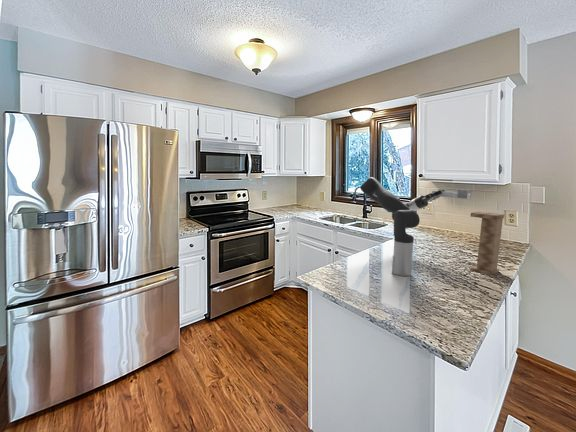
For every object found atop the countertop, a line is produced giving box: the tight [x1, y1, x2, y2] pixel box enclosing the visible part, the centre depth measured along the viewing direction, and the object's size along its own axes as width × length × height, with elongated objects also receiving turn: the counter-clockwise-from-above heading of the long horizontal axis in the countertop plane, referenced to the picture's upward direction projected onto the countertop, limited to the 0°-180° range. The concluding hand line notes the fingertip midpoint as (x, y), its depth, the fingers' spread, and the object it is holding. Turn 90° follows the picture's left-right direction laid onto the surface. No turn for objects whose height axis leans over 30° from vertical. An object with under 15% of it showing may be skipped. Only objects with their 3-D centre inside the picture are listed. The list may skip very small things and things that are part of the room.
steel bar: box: [431, 189, 473, 200], centre depth 170 cm, size 20×5×4 cm, turn 36°
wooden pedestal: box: [469, 211, 505, 276], centre depth 158 cm, size 12×10×31 cm
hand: (442, 191), depth 174 cm, fingers closed on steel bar, 3 cm apart
